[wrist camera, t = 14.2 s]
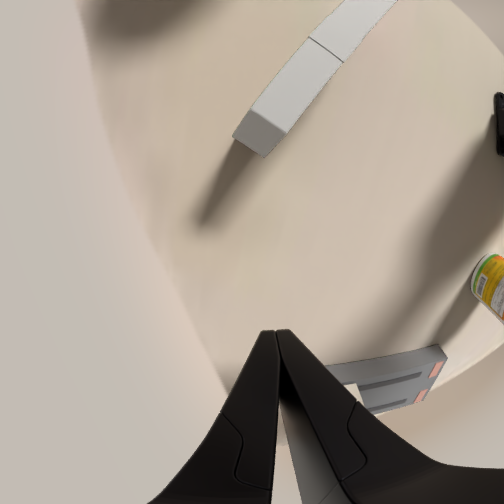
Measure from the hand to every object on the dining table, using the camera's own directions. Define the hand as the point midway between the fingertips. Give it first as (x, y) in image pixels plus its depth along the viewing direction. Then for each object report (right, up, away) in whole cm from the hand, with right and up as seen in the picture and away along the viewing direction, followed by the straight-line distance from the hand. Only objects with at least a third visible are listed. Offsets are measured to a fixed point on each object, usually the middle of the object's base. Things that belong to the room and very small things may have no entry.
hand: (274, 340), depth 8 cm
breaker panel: (+13, -12, +19) cm, 26 cm away
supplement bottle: (+25, 0, +14) cm, 28 cm away
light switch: (+2, +14, +7) cm, 16 cm away
